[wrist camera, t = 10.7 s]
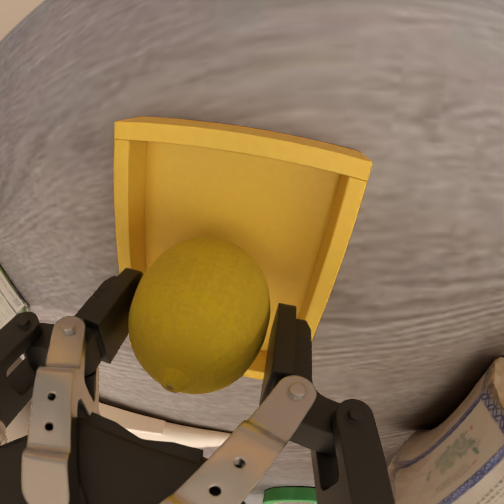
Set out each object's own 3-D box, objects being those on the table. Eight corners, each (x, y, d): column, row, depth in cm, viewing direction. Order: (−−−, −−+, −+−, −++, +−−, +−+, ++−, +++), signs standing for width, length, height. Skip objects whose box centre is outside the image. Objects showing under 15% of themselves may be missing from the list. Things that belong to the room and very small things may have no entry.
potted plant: (543, 504, 3) (317, 608, 11) (617, 425, 3) (439, 575, 11) (425, 332, 20) (311, 506, 28) (532, 339, 20) (415, 494, 28)
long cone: (240, 441, 30) (95, 416, 30) (241, 414, 28) (79, 386, 28) (237, 481, 25) (81, 449, 25) (238, 459, 23) (60, 421, 23)
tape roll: (276, 500, 41) (274, 511, 39) (254, 486, 36) (252, 500, 34) (333, 496, 38) (333, 508, 35) (322, 483, 33) (321, 498, 31)
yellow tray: (140, 116, 13) (114, 121, 11) (360, 151, 12) (373, 162, 10) (144, 322, 20) (130, 346, 17) (293, 357, 19) (292, 385, 17)
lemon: (193, 191, 14) (100, 291, 7) (297, 243, 14) (292, 381, 7) (161, 275, 16) (91, 384, 9) (247, 317, 17) (218, 442, 10)
